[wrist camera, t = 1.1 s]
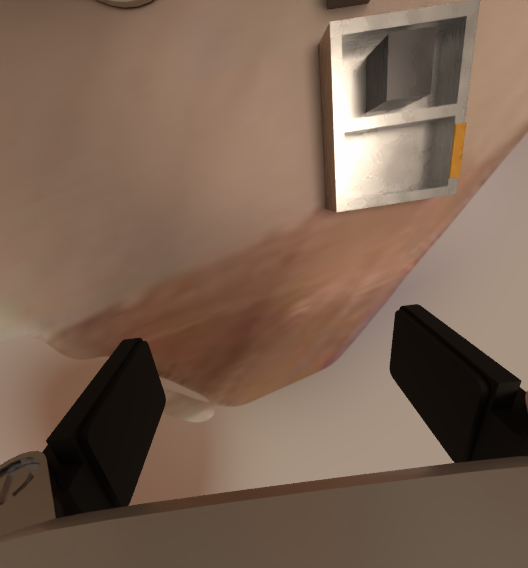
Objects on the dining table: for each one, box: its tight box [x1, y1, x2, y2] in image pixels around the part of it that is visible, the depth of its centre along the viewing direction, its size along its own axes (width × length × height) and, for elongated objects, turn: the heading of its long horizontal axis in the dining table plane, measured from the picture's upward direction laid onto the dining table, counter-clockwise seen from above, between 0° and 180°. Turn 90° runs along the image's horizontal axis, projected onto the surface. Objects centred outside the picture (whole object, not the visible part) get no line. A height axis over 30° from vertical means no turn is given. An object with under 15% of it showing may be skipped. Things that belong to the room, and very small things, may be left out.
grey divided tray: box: [319, 0, 480, 212], centre depth 27 cm, size 16×13×5 cm
